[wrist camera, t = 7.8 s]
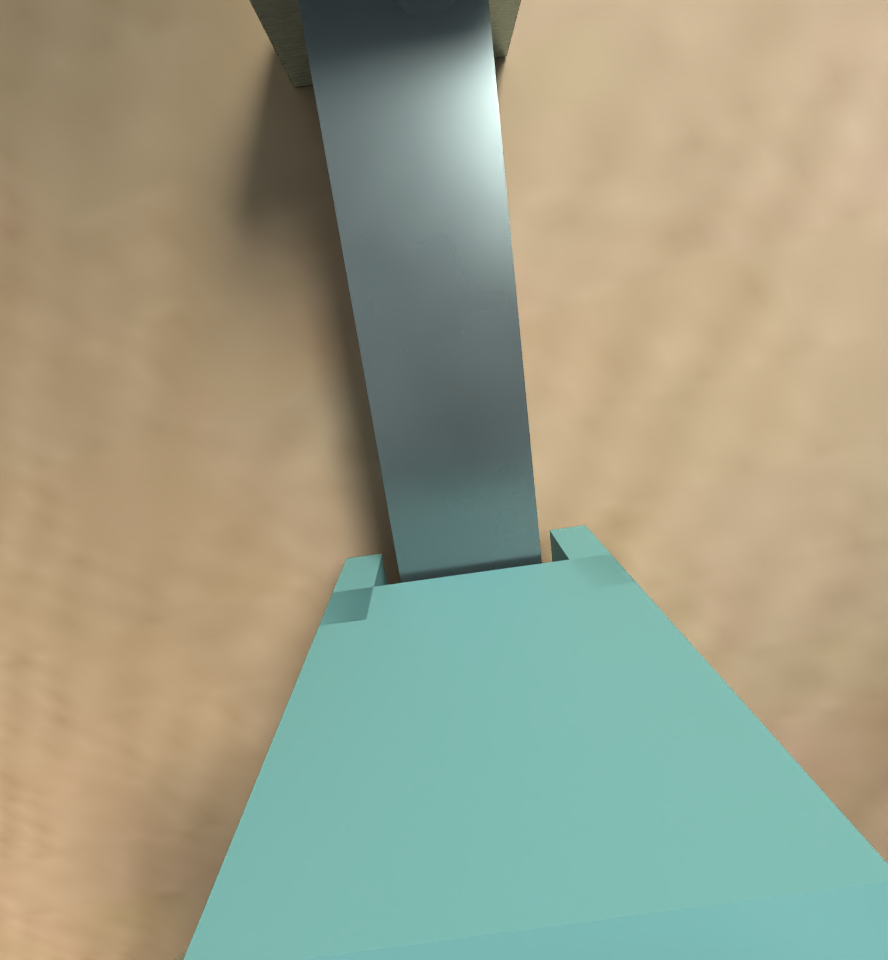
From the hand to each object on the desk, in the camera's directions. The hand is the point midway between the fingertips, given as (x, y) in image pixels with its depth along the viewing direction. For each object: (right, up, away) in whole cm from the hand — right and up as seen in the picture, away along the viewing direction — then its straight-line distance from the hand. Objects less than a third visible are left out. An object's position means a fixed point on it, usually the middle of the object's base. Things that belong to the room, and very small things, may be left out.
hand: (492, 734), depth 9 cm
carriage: (0, +1, +2) cm, 2 cm away
